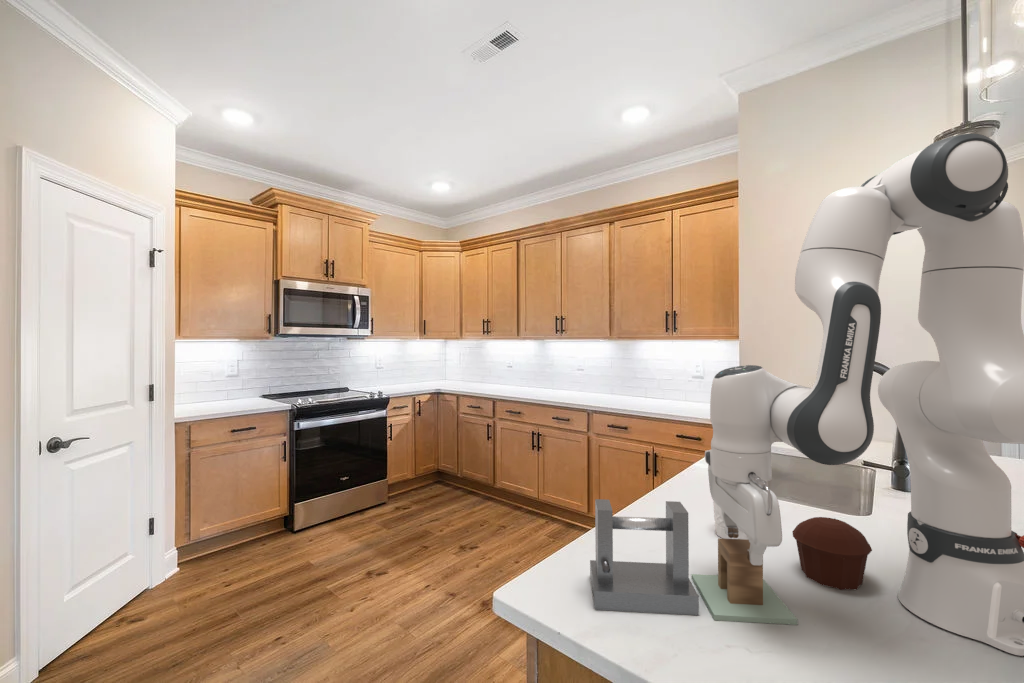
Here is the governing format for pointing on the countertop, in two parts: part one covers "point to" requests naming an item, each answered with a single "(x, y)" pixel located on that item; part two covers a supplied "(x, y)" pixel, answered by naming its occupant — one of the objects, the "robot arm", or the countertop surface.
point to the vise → (643, 566)
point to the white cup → (721, 526)
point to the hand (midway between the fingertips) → (742, 548)
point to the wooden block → (739, 573)
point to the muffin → (832, 552)
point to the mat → (725, 611)
